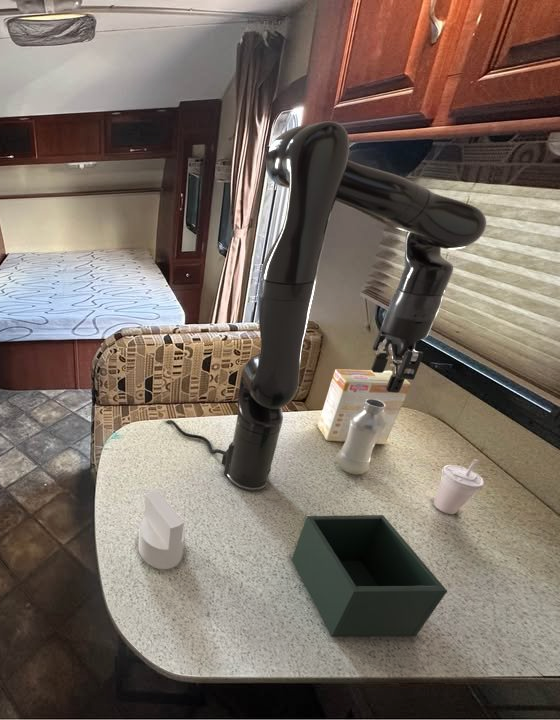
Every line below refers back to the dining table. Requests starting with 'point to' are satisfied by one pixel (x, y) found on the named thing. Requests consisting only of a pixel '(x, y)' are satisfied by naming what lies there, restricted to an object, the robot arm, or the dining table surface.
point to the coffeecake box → (358, 401)
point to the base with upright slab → (161, 533)
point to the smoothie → (457, 487)
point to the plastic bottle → (362, 437)
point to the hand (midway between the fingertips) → (384, 381)
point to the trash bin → (365, 577)
